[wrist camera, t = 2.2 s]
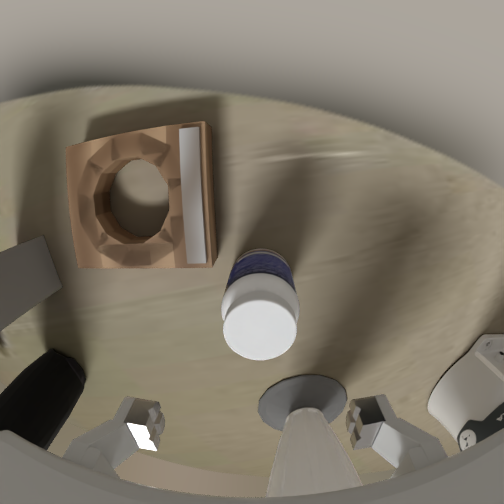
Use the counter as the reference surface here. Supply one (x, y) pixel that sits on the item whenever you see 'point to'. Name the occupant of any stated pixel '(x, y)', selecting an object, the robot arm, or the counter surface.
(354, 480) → the cup
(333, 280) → the counter surface
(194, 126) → the jig
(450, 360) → the counter surface
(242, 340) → the pill bottle
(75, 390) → the portable speaker
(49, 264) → the perfume bottle
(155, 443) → the robot arm
